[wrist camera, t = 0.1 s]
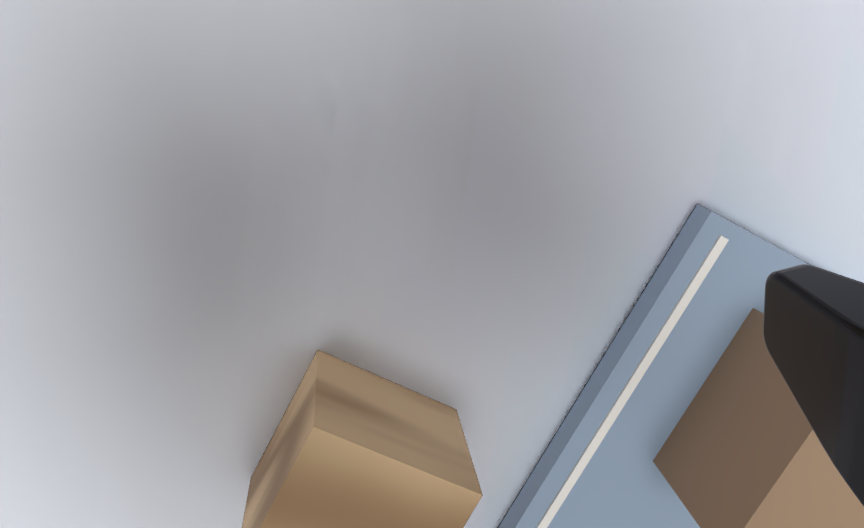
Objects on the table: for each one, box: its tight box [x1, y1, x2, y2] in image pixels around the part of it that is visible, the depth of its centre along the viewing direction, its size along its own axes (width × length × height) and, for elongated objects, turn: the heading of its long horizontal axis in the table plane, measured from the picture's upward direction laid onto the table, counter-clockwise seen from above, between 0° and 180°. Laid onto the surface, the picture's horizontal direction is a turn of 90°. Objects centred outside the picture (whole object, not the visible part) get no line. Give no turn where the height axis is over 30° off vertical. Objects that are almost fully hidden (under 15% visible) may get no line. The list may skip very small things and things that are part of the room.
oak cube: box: [242, 350, 483, 528], centre depth 24 cm, size 5×5×5 cm
